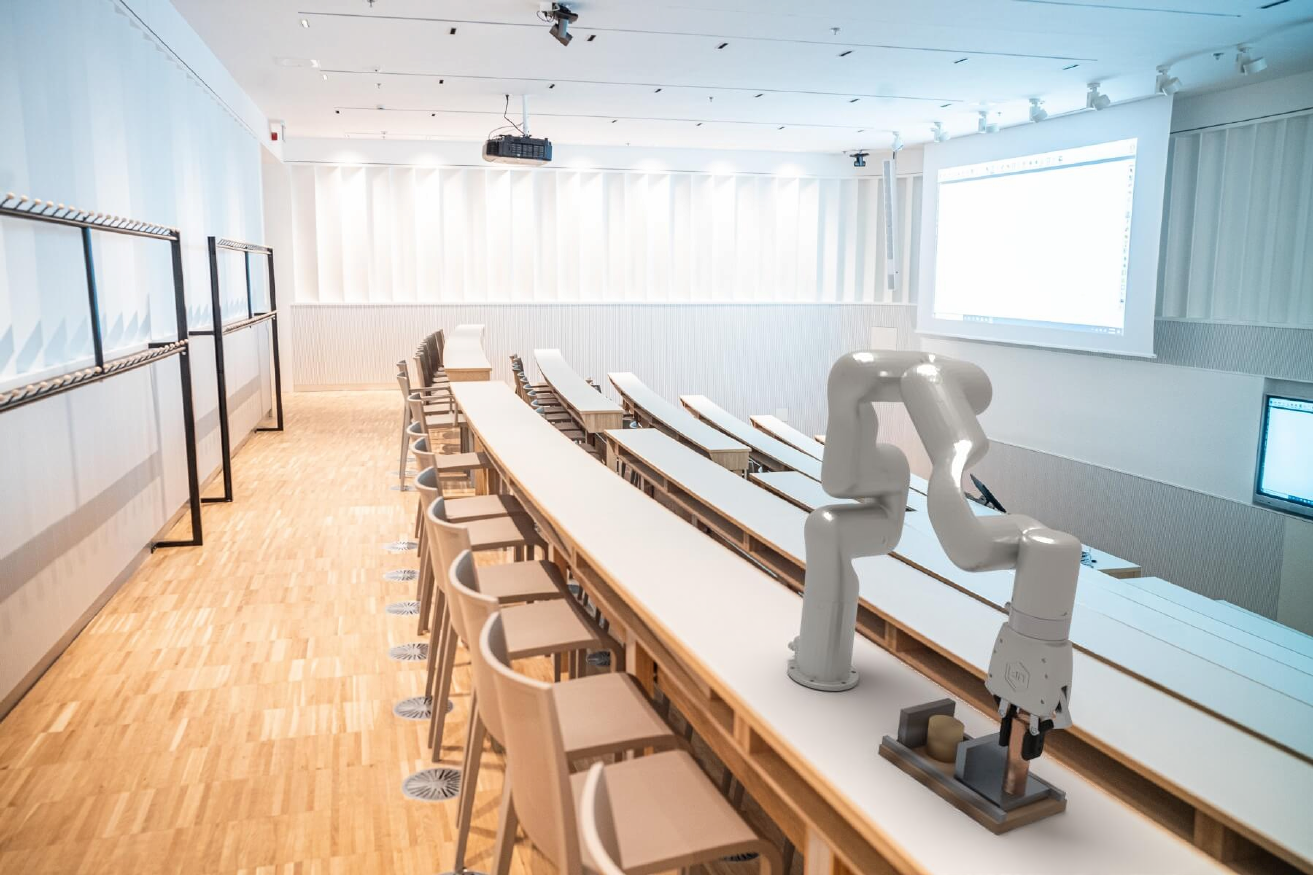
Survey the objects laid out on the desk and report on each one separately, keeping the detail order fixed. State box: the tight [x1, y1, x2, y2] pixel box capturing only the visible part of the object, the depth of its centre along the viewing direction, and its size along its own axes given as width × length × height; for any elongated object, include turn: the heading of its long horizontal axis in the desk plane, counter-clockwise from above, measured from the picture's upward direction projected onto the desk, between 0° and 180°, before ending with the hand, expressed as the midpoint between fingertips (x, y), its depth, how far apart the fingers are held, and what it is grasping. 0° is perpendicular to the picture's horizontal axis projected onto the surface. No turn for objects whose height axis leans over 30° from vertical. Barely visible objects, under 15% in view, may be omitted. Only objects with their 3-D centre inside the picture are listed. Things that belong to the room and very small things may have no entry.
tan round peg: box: [925, 715, 965, 763], centre depth 135 cm, size 5×5×5 cm
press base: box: [877, 697, 1068, 836], centre depth 131 cm, size 22×14×8 cm, turn 30°
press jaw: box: [954, 713, 1050, 812], centre depth 126 cm, size 8×10×12 cm
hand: (1019, 749), depth 124 cm, fingers closed on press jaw, 3 cm apart
